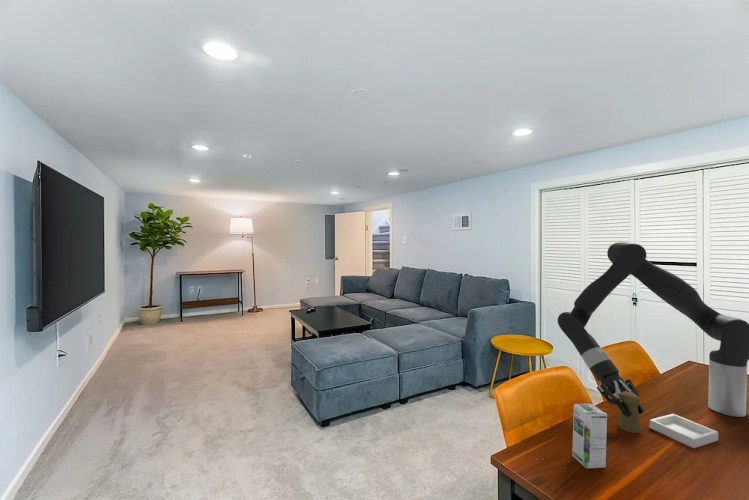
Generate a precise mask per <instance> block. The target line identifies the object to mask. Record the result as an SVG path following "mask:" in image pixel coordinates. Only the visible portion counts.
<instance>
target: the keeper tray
mask: <svg viewBox="0 0 749 500" xmlns="http://www.w3.org/2000/svg"><path fill="white" fill-rule="evenodd" d="M649 429H652V430H653V431H655V432H658V433H659V434H662V435H664V436H667V437H669V438H671V439H673V440H675V441H676V442H679V443H682V444H684V445H685V446H688V447H691V448H692V449H696V448H699V447H702V446H705V445H709V444H712V443H714V442H717V441H719V432H718V431H717V430H715V429H713V428H712V429H711V428H709V427H707V426H705V425H702V424H700V423H697V422H695V421H693V420H690V419H688V418H685V417H682V416H681V415H677V414H675V413H671V414H666V415H662V416H658V417H654V418H651V419H649Z"/></svg>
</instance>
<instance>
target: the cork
mask: <svg viewBox="0 0 749 500" xmlns="http://www.w3.org/2000/svg"><path fill="white" fill-rule="evenodd" d="M621 398H622V400H623V403H625V404H626V406H627V407H628V408H629V410H630V411H631V413H632V415H631V416H629V417H625V415H624V414H623V413H622V412H621V410H620V409H619V415H618V420H617V427H618V428H620V429H621V430H623V431H624V432H628V433H633V434H639V433H641V431H642V428H641V423H640V421H641V420H640V414H639V413H638V405H639V404H641V400H640V396H639V397H638V396H637V395H636V394H634V392H632V393H630V392H626V391H625V392H622V393H621Z"/></svg>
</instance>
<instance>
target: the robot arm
mask: <svg viewBox="0 0 749 500" xmlns="http://www.w3.org/2000/svg"><path fill="white" fill-rule="evenodd" d="M606 254H607V258H608V260H609V261H610V263H611V265H610V267H608V269H607V270H606V271H605V272H604V273H603V274H602V275H600V276H599V277H598V278H596V279H595V280H594V281H592V282H591V283H590V284H588V285H587V286H586V287H585V288H584V289H583V290H582V292H581V293H580V294H579V296H577V298H576V299H575V301H574V302H573V305H574V306H573V309H572V310H571V311H565V312H561V313H560V314H558V317H557V325H558V327H559V328H560V330H561V331H562V332H563V333H564V335H565V336H566V337H567V339H569V340H570V342H571V343H572V345H573V346H574V348H575V349H576V351H577V352H578V354H579V355H580V357H581V358H582V360H583V362H584V363H585V365H586V367H587V368H588V370H589V371H590V373H592V376H593V377H594V379H595V380H596V381H597V382H600V384H599V385H598V386H596V390H597V391H598V392H599V393H600V394H601V395H602V396H603V397H604V399H605V400H606V401H607V402H608V403H609V404H610V405H615V406H617V408H618V409H619V411H620V410H621V412H622V413H623V414H624V415H625V417H629V416H631V415H632V413H631V411H630V410H629V408H628V407H627V406H626V404H625V403H623V400H622V398H621V393H622V392H630V393H634V394H636V395H637V396H638V397H639V398H640V394H639V392H638V391H637V389H636V387H635V384H634V383H633V381H632V380H631V379H630V378H628V379H623V378H622V377H621V376H620V375H619V373H620V370H619V369H618V367H617V366H616V365H615V363H614V362H613V360H612V359H611V358H610V357H609V355H608V354H607V353H606V351H604V349H603V348H602V347H601V346H600V345H599V343H598V342H597V341H596V339H595V338H594V337H593V336H592V335H591V333H590V332H588V330H587V329H586V328H585V327H586V326H587V324H588V322H590V318H591V317H592V315H593V313H594V312H595V311H596V310H597V309H598V308H599V307H600V305H601V304H602V303H603V302H604V301H605V300H606V299H607V297H608V296H610V294H611V293H612V292H614V290H615V289H616V288H617V287H618V286H619V285H620V284H621V283H622V282H624V281H625V280H626V279H627V278H628V277H629V276H630V275H631V276H633V277H634V278H636V279H637V280H638V281H639V282H641V284H643V285H644V286H645V287H646V288H648V290H650V291H651V292H652V293H653V294H655V295H656V296H657V297H658V298H660V299H661V300H662V301H664V302H665V303H667V304H668V305H669V306H670V307H672V308H674V309H675V310H676V311H678V312H679V313H681V314H682V315H685V316H686V317H687V318H688V319H689V320H691V321H692V322H693V323H694V324H695V325H697V327H698V328H700V330H702V331H703V332H704V333H705V334H706V335H707V336H709V337H710V338H711V339H713V340H716V341H718V342H719V341H720V345H719V349H715V350H711V351H710V352H709V358H708V359H709V361H708V362H709V363H708V364H709V366H708V400H707V401H708V404H707V406H708V408H709V409H711V410H712V411H714V412H716V413H719V414H722V415H725V416H729V417H737V418H744V417H746V416H747V413H746V412H747V387H748V386H747V385H748V361H749V323H748V322H747V321H746V320H743V319H741V318H737V317H733V316H728V315H724V314H722V313H720V312H718V311H716V310H714V309H713V308H712V307H710V306H708V304H706V303H705V302H704V300H702V298H701V296H700V294H699V292H698V291H697V290H696V289H695V288H694V287H693V286H691V285H690V284H689V283H688V282H686V281H685V280H684V279H682V278H681V277H679V276H678V275H676V274H674V273H672V272H671V271H668V270H666V269H664V268H663V267H660V266H658V265H656V264H654V263H652V262H651V261H649V260H647V251H646V249H645V247H644V246H642V245H641V244H638V243H635V242H627V241H619V242H615V243H612V244H611V245H610V246H609V247H608V248H607V253H606ZM638 413H639V415H641V414H644V413H645V410H644V407H642V405H641V403H639V405H638Z"/></svg>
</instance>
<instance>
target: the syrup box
mask: <svg viewBox="0 0 749 500" xmlns="http://www.w3.org/2000/svg"><path fill="white" fill-rule="evenodd" d="M572 421H573V422H572V423H573V424H572V425H573V426H572V455H571V456H572V457H573V458H574V459H576V461H577V462H579V464H581V465H582V467H584V468H585V469H601V468H604V469H605V468H606V464H607V462H606V461H607V460H606V459H607V433H608V432H607V429H608V426H607V423H608V413H607V412H604V411H603V410H601V409H600V408H599V407H597V406H595V405H594V404H592V403H575V404H573V418H572Z"/></svg>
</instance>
